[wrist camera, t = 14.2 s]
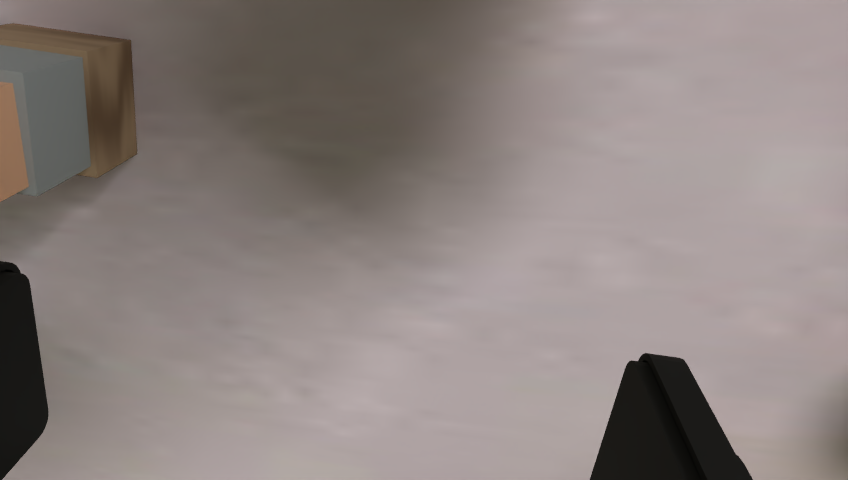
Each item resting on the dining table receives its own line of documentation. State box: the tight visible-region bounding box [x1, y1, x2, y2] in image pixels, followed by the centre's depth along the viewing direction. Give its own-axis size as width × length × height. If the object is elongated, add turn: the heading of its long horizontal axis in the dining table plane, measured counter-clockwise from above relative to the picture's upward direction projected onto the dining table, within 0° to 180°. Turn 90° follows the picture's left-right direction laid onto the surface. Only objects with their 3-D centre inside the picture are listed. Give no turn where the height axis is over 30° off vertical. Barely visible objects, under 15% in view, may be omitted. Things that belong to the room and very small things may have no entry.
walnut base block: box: [0, 23, 137, 178], centre depth 37 cm, size 7×7×5 cm
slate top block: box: [0, 45, 91, 196], centre depth 32 cm, size 6×6×5 cm
